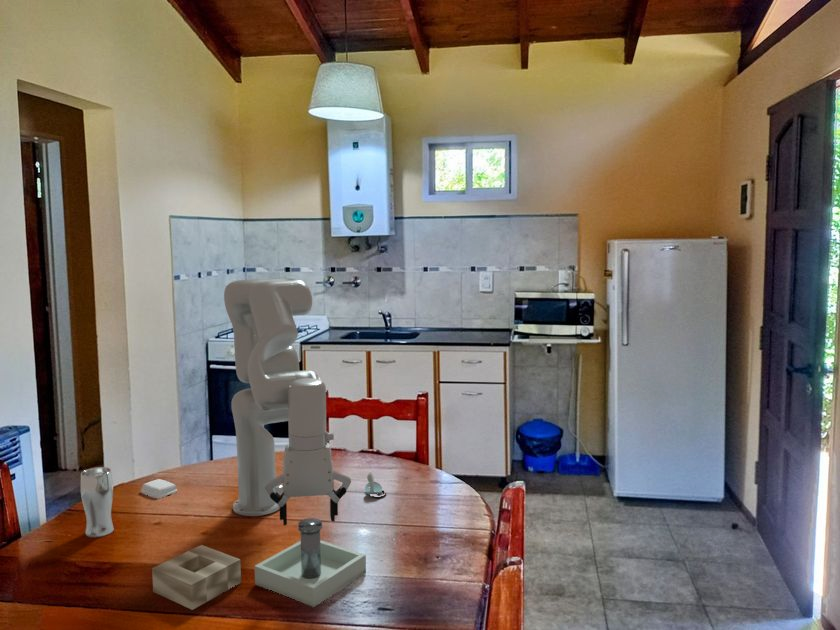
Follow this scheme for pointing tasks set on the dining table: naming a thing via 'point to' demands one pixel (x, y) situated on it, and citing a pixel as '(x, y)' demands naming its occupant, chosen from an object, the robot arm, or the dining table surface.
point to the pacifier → (372, 485)
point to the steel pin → (310, 547)
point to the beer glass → (97, 500)
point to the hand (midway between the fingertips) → (308, 520)
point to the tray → (287, 579)
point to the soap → (158, 488)
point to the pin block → (196, 576)
